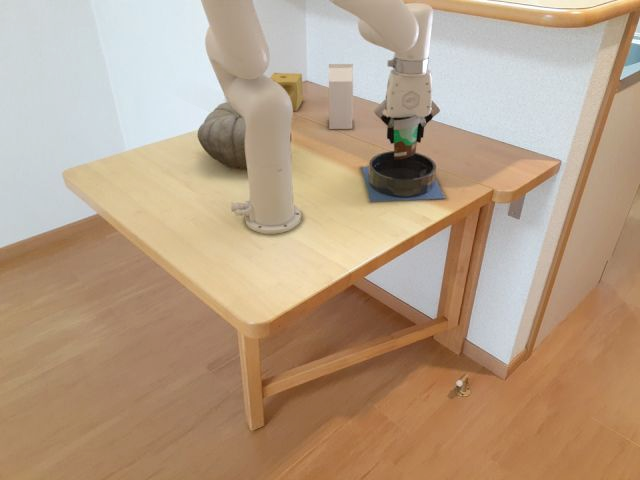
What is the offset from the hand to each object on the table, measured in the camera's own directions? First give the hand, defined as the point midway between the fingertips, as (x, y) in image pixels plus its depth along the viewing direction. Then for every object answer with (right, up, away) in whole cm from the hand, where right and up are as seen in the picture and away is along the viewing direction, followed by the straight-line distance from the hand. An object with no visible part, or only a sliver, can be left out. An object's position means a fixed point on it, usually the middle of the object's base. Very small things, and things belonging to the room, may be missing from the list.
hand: (404, 140), depth 124 cm
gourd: (-41, -2, +19) cm, 45 cm away
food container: (+1, -2, +2) cm, 3 cm away
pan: (0, -9, +7) cm, 12 cm away
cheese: (-32, +22, +53) cm, 66 cm away
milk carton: (-14, +12, +38) cm, 42 cm away
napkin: (0, -9, +7) cm, 12 cm away
